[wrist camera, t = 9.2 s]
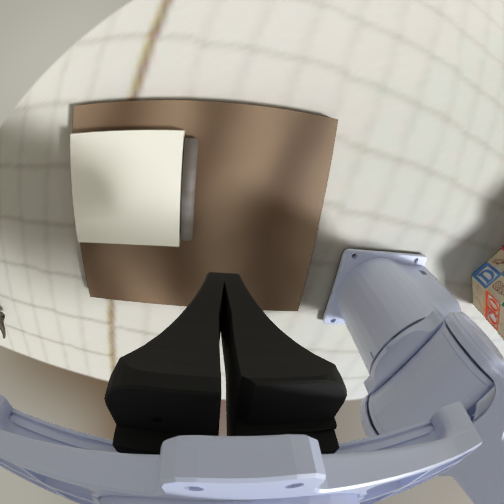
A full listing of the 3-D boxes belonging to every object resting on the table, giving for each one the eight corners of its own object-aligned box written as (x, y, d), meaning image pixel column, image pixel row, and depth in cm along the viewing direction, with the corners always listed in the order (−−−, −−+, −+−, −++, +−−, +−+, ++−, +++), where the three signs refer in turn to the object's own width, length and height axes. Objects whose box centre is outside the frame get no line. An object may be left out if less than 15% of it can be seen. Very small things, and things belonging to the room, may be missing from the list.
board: (333, 118, 18) (343, 120, 16) (295, 304, 25) (300, 318, 24) (79, 105, 16) (67, 106, 14) (94, 290, 23) (86, 303, 21)
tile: (70, 134, 15) (75, 132, 16) (77, 242, 18) (82, 236, 19) (183, 130, 16) (185, 129, 17) (179, 246, 20) (180, 241, 21)
